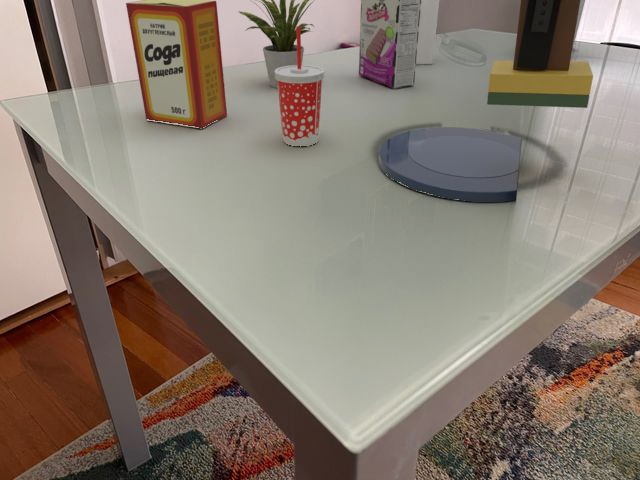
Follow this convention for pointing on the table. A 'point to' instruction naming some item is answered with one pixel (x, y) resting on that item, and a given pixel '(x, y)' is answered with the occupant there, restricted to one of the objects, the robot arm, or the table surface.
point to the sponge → (544, 84)
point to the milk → (427, 31)
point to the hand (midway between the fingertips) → (531, 63)
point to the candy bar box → (389, 41)
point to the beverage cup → (299, 100)
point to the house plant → (280, 35)
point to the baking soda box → (179, 60)
